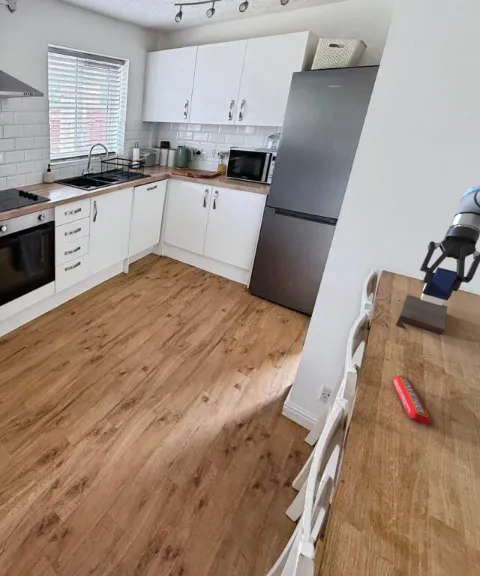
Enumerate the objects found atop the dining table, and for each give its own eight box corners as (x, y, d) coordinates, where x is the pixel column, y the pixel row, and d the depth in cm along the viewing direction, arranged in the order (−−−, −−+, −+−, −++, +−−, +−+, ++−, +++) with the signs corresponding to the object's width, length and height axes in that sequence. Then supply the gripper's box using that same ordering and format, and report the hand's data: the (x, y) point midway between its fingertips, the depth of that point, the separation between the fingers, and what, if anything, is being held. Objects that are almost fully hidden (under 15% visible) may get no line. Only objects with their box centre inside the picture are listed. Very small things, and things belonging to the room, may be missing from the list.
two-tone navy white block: (423, 287, 124) (437, 260, 120) (443, 292, 121) (458, 265, 117) (420, 299, 116) (435, 271, 112) (441, 305, 113) (458, 276, 109)
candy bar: (428, 429, 81) (435, 420, 80) (409, 424, 83) (415, 414, 81) (405, 383, 95) (410, 374, 93) (388, 379, 96) (393, 370, 94)
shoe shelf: (402, 304, 133) (407, 294, 131) (441, 316, 127) (447, 306, 125) (395, 325, 120) (400, 315, 118) (438, 340, 113) (444, 329, 111)
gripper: (497, 245, 113) (469, 310, 110) (425, 230, 124) (398, 289, 121) (508, 233, 107) (479, 301, 104) (431, 218, 118) (403, 280, 114)
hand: (435, 295), depth 112 cm, fingers closed on two-tone navy white block, 5 cm apart
